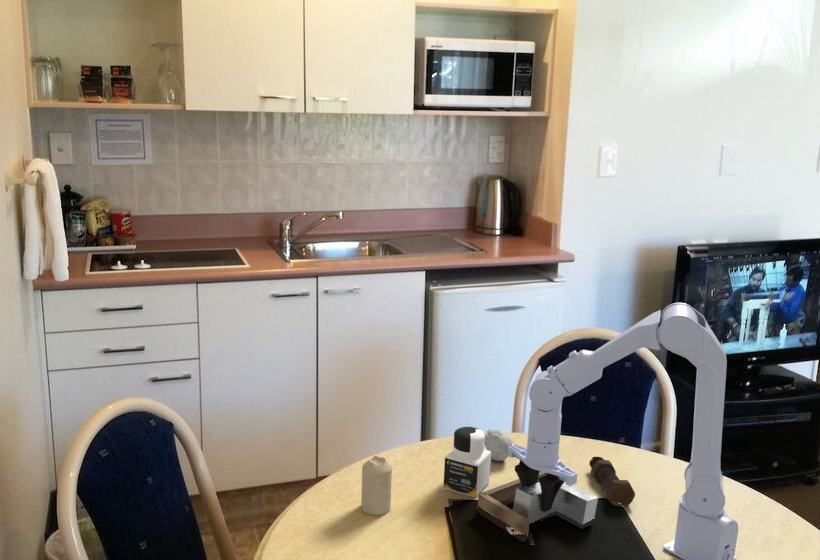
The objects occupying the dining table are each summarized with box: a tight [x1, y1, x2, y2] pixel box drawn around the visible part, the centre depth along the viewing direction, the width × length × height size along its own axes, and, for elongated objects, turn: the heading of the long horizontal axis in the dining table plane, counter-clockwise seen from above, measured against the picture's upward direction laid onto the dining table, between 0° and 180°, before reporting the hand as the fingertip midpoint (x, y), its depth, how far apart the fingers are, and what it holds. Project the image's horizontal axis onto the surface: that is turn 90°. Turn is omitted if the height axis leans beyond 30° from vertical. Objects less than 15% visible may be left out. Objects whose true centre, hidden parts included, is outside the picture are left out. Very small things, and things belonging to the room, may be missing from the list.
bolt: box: [588, 456, 636, 508], centre depth 156 cm, size 6×5×15 cm
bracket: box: [512, 482, 599, 525], centre depth 141 cm, size 12×10×6 cm
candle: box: [361, 455, 393, 516], centre depth 144 cm, size 6×6×10 cm
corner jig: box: [477, 471, 547, 535], centre depth 145 cm, size 12×19×4 cm, turn 127°
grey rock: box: [484, 428, 514, 462], centre depth 165 cm, size 6×7×7 cm
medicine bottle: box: [442, 426, 492, 498], centre depth 153 cm, size 7×7×12 cm
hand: (538, 505), depth 142 cm, fingers closed on bracket, 3 cm apart
